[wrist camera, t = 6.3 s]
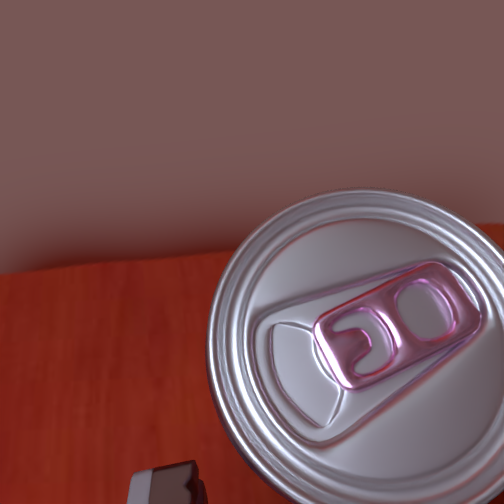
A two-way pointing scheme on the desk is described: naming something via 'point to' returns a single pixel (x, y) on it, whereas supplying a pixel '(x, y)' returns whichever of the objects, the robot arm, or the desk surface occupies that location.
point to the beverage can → (363, 352)
